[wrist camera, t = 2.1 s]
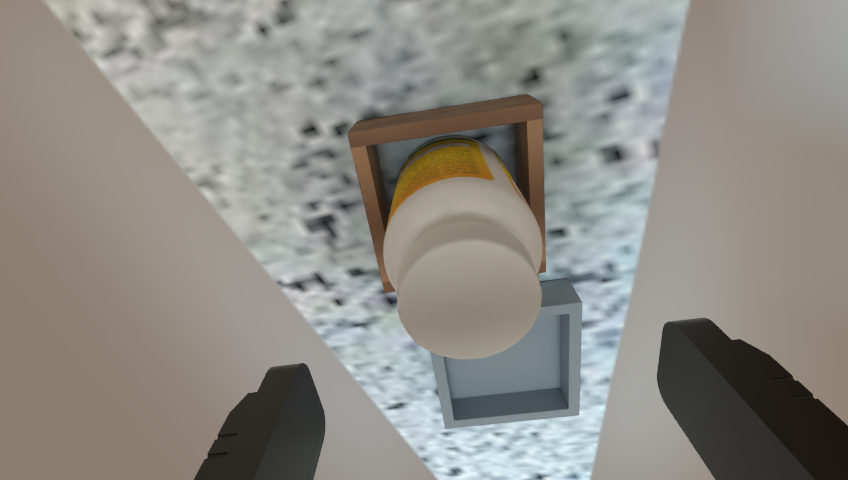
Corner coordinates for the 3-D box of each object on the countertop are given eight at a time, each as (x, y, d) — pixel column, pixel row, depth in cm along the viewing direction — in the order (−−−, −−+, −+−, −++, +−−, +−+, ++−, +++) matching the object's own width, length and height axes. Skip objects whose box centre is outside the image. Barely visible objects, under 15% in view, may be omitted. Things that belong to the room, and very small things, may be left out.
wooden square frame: (357, 121, 18) (347, 133, 16) (527, 94, 18) (542, 102, 15) (388, 265, 22) (384, 292, 19) (533, 247, 21) (545, 272, 19)
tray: (424, 296, 22) (424, 321, 20) (568, 278, 22) (582, 302, 20) (443, 399, 26) (445, 428, 24) (567, 385, 25) (579, 415, 24)
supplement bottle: (529, 170, 19) (613, 278, 11) (466, 255, 21) (495, 403, 13) (432, 109, 18) (439, 176, 9) (376, 206, 20) (339, 332, 12)
